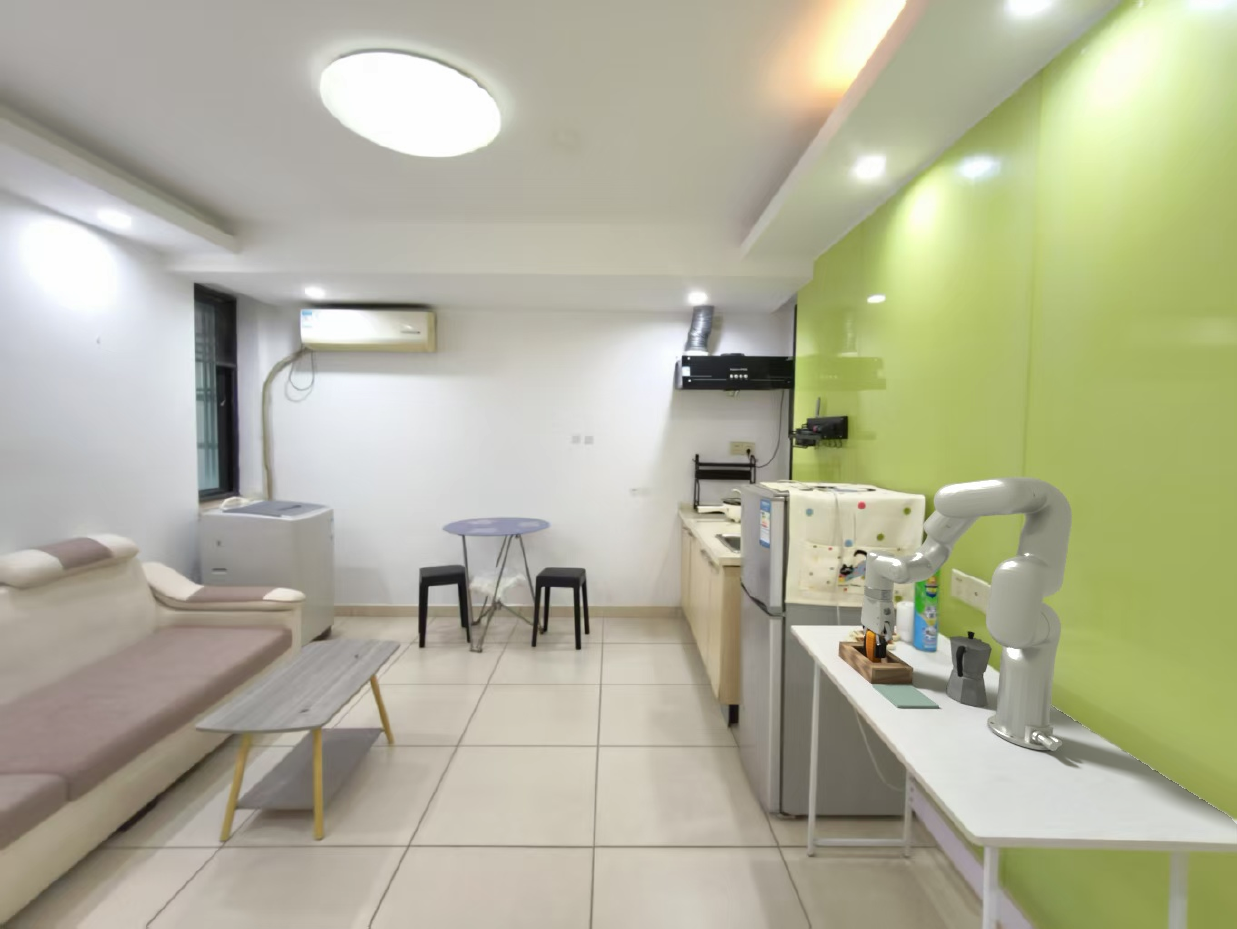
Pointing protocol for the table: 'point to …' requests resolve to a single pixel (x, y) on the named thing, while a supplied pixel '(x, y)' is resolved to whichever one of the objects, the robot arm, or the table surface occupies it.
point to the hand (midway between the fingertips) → (874, 652)
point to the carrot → (871, 646)
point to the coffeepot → (968, 670)
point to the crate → (876, 665)
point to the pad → (905, 696)
